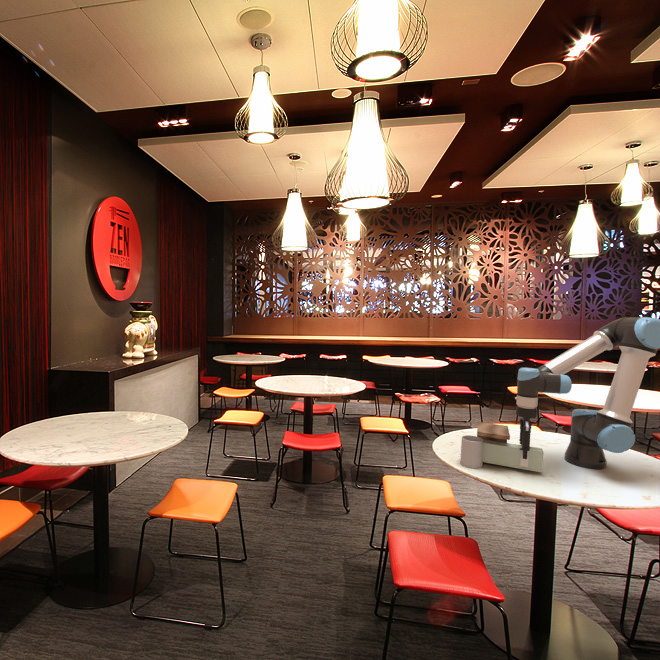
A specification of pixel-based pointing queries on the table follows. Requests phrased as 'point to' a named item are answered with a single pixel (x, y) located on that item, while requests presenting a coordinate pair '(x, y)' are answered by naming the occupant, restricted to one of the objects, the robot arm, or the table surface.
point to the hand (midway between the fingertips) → (523, 463)
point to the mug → (471, 451)
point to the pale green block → (511, 455)
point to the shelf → (493, 432)
